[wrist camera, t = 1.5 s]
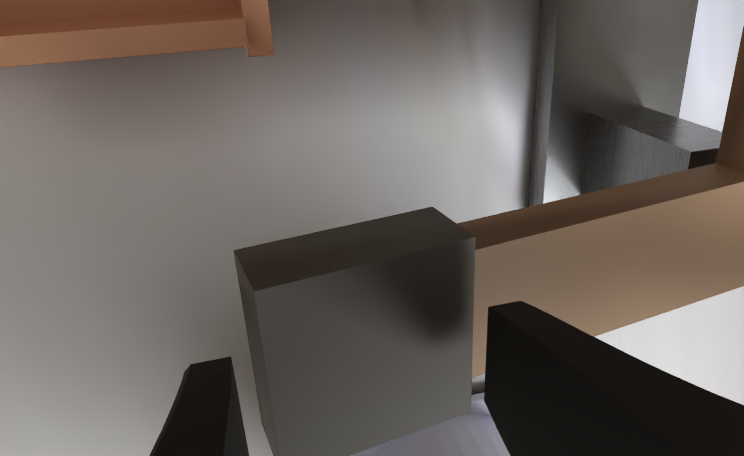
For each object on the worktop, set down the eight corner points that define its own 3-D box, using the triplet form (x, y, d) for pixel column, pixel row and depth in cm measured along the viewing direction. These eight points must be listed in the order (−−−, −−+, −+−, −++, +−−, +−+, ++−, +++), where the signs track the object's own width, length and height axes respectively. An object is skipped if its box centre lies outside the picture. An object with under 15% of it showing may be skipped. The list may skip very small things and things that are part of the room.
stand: (645, 199, 23) (777, 269, 18) (527, 217, 22) (630, 299, 17) (721, -295, 17) (960, -412, 12) (561, -301, 16) (743, -434, 10)
